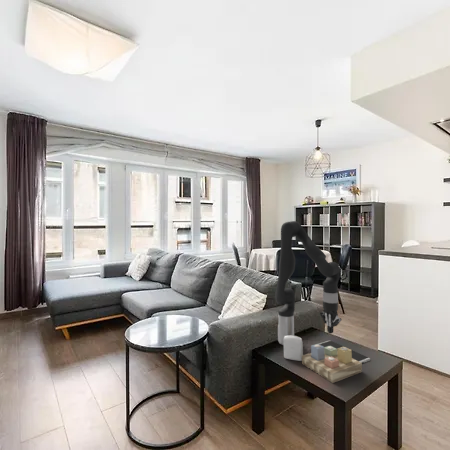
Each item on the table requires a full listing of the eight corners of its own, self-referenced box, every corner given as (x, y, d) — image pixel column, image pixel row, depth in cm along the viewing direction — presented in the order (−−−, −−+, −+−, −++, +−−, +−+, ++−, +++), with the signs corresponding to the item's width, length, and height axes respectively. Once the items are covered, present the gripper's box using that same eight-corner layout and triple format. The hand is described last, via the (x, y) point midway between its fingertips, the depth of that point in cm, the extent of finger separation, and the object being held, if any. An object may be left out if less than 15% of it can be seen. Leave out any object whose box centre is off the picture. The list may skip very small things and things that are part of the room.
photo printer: (283, 358, 155) (282, 336, 155) (284, 355, 159) (284, 333, 159) (302, 362, 151) (302, 338, 151) (303, 358, 155) (303, 335, 155)
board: (302, 364, 149) (302, 355, 149) (330, 355, 158) (329, 347, 158) (332, 383, 131) (332, 373, 131) (361, 372, 140) (361, 362, 140)
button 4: (337, 360, 144) (337, 347, 144) (344, 358, 146) (343, 345, 146) (345, 364, 139) (345, 351, 139) (351, 362, 142) (351, 349, 142)
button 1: (311, 357, 148) (311, 344, 147) (317, 355, 150) (317, 343, 150) (317, 360, 143) (317, 348, 143) (324, 358, 146) (324, 346, 145)
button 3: (324, 370, 140) (324, 357, 139) (331, 368, 142) (331, 355, 142) (332, 375, 135) (331, 361, 135) (338, 372, 138) (338, 359, 137)
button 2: (324, 358, 152) (323, 346, 152) (330, 356, 154) (330, 345, 154) (330, 362, 148) (330, 350, 147) (337, 360, 150) (337, 348, 150)
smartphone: (354, 367, 146) (354, 364, 146) (314, 347, 169) (314, 344, 169) (371, 361, 152) (371, 358, 152) (330, 342, 176) (330, 339, 176)
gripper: (315, 298, 154) (315, 329, 155) (335, 304, 143) (335, 339, 143) (325, 296, 158) (325, 327, 158) (345, 302, 146) (345, 336, 147)
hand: (330, 332), depth 151 cm, fingers closed
